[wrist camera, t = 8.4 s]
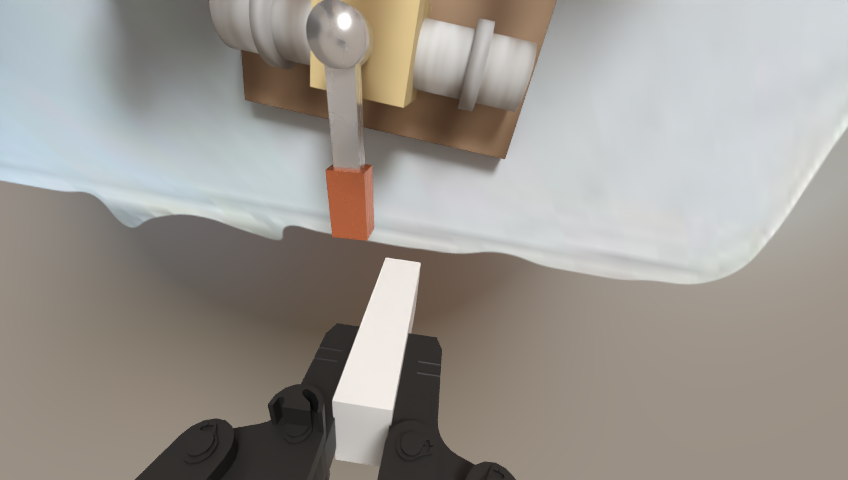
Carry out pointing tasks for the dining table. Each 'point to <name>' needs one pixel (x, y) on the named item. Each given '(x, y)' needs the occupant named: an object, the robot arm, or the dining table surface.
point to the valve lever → (345, 113)
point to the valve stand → (401, 64)
